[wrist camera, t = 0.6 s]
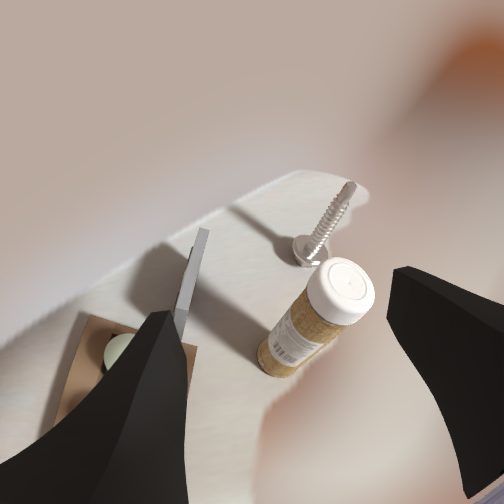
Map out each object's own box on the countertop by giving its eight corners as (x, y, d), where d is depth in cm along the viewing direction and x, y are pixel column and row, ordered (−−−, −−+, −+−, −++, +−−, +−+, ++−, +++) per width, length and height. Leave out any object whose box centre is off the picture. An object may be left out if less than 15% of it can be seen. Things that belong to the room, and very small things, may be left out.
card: (181, 340, 27) (188, 310, 23) (168, 337, 27) (173, 306, 22) (199, 267, 33) (209, 230, 29) (189, 264, 33) (197, 226, 29)
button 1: (149, 396, 21) (148, 389, 19) (102, 381, 20) (97, 372, 18) (160, 352, 24) (160, 341, 22) (115, 339, 23) (112, 327, 21)
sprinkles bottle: (306, 366, 29) (388, 296, 19) (270, 386, 26) (348, 322, 17) (282, 330, 31) (349, 247, 21) (246, 347, 29) (305, 264, 19)
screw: (324, 256, 40) (316, 281, 37) (293, 239, 40) (281, 263, 37) (374, 183, 31) (372, 204, 27) (336, 161, 31) (329, 179, 28)
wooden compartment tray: (162, 547, 14) (162, 553, 12) (45, 508, 12) (37, 511, 11) (194, 354, 26) (197, 346, 25) (94, 324, 25) (90, 314, 24)
